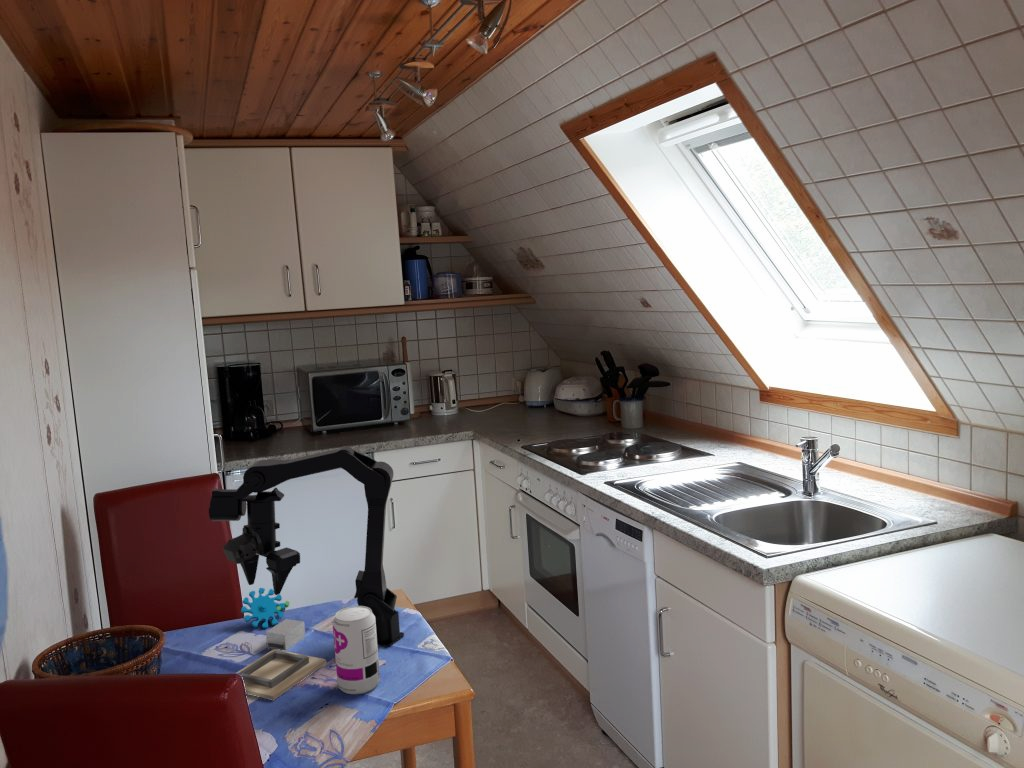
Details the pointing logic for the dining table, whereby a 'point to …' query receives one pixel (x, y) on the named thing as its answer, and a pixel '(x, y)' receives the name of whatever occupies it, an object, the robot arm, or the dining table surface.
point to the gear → (264, 608)
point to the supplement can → (356, 650)
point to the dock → (278, 672)
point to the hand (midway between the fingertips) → (264, 589)
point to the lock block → (285, 634)
